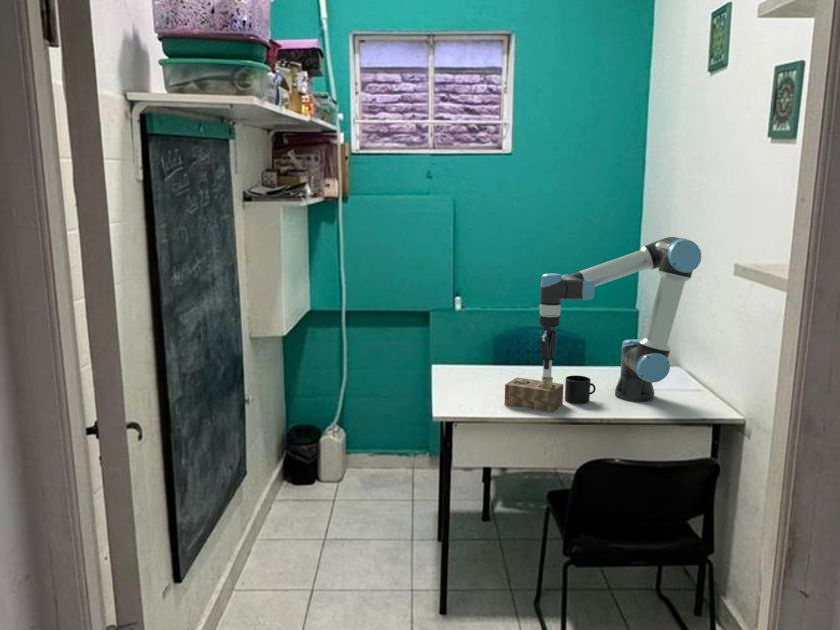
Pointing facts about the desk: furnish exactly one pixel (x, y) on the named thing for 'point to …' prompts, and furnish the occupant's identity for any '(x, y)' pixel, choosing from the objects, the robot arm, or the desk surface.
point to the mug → (578, 389)
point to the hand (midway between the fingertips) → (547, 376)
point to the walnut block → (533, 395)
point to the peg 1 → (522, 382)
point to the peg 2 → (547, 382)
